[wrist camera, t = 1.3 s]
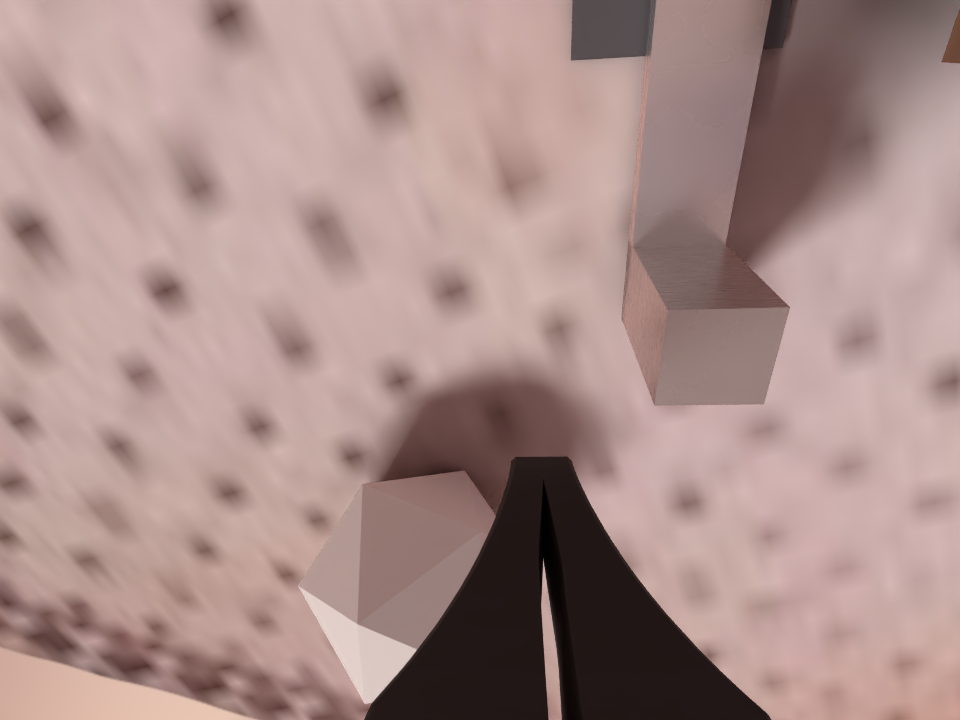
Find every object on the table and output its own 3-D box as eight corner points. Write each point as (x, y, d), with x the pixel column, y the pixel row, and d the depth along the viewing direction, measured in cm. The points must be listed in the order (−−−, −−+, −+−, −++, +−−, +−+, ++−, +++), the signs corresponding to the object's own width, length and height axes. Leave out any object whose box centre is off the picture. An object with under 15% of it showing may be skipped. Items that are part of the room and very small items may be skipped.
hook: (1132, -297, 12) (1580, -539, 7) (898, 308, 19) (1030, 401, 14) (670, -250, 13) (772, -436, 8) (620, 314, 20) (654, 405, 15)
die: (344, 412, 24) (218, 640, 20) (509, 450, 19) (385, 764, 15) (435, 483, 31) (352, 668, 27) (580, 525, 26) (504, 764, 22)
